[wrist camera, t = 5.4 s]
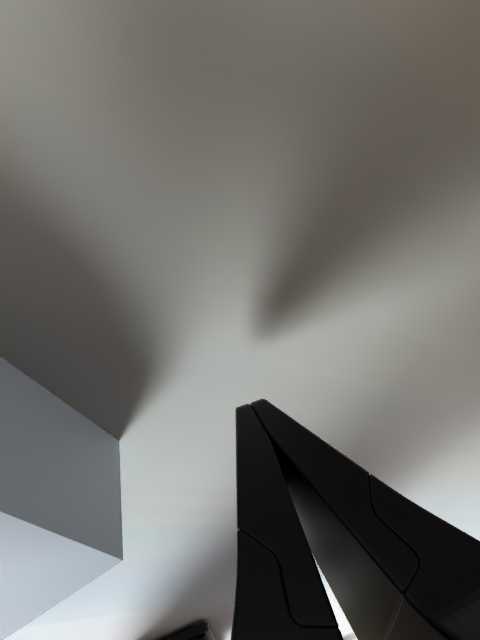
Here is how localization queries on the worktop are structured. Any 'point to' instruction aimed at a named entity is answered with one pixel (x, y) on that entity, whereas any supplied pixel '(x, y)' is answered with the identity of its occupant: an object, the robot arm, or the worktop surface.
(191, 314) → the worktop surface
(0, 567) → the boxed book
